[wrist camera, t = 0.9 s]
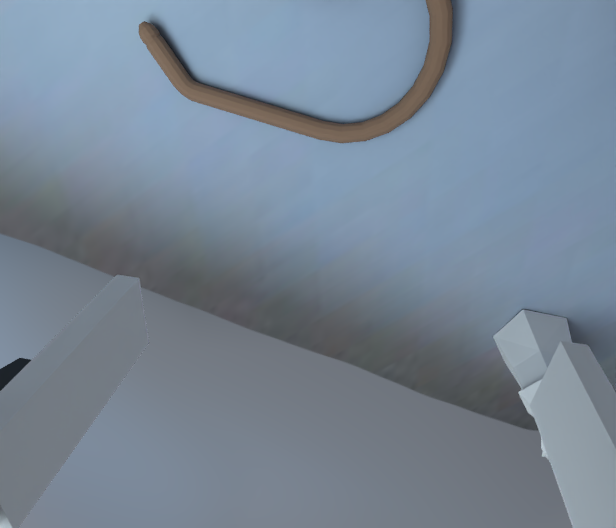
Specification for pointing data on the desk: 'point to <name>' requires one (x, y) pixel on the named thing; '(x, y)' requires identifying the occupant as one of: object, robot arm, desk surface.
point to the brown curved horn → (303, 124)
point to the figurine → (531, 349)
